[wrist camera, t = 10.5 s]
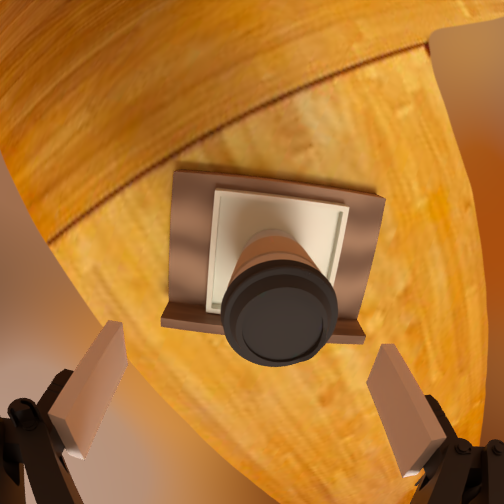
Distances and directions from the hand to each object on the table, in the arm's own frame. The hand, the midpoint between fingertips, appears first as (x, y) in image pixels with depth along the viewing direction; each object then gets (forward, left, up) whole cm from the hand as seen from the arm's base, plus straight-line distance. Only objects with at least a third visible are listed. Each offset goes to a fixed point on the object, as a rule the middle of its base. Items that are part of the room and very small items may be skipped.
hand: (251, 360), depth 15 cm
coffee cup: (+2, +2, -21) cm, 22 cm away
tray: (+2, +3, -22) cm, 22 cm away
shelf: (+2, +3, -25) cm, 25 cm away
